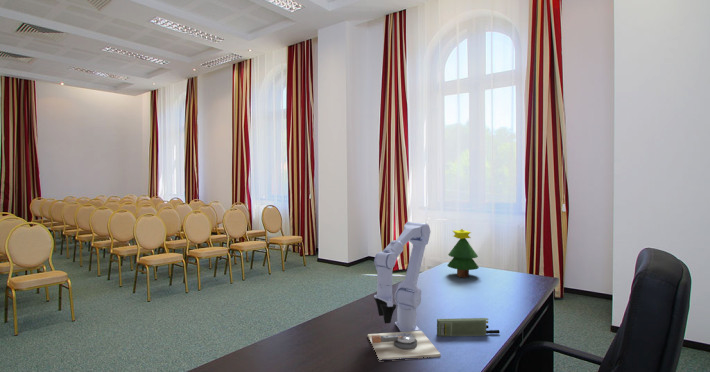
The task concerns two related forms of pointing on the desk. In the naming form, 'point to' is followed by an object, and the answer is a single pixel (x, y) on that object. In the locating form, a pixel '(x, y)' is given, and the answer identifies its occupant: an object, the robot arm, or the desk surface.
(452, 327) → the handheld radio
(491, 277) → the desk surface
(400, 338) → the frying pan
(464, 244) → the decorative tree
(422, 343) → the board
